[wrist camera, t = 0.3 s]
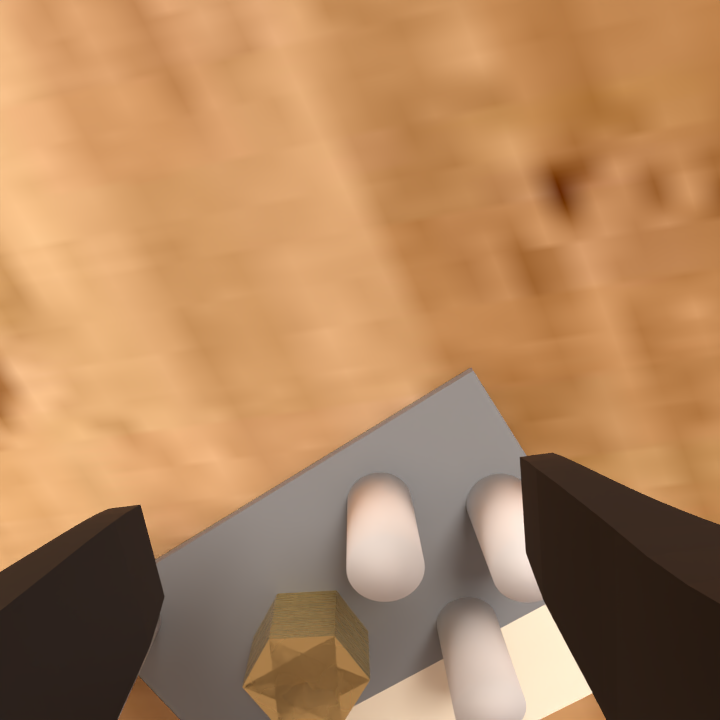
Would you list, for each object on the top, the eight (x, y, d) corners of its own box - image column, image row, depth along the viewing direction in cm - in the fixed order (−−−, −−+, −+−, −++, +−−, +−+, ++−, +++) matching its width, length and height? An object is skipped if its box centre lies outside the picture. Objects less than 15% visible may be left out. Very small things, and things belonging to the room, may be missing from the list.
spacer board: (649, 654, 24) (715, 753, 19) (296, 832, 26) (285, 955, 22) (470, 367, 20) (502, 411, 16) (82, 604, 23) (20, 697, 18)
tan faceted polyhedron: (383, 650, 23) (387, 701, 21) (302, 695, 23) (297, 748, 21) (319, 569, 22) (315, 612, 19) (236, 617, 22) (223, 665, 20)
